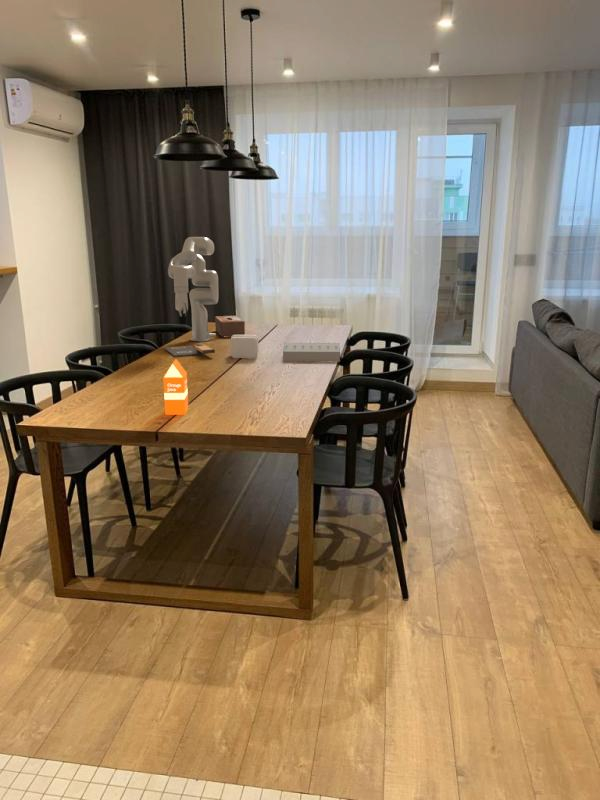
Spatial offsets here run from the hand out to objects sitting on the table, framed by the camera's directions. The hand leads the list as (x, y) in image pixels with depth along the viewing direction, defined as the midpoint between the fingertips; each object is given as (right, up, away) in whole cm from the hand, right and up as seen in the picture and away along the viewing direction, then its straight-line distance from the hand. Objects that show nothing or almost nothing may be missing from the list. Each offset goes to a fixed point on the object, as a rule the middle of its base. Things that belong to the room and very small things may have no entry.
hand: (182, 323), depth 341 cm
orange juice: (+16, -46, -99) cm, 111 cm away
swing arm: (+11, -15, +1) cm, 18 cm away
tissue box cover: (+18, +1, +69) cm, 71 cm away
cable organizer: (+34, -19, -1) cm, 39 cm away
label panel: (-2, -15, +10) cm, 18 cm away
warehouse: (+70, -20, -5) cm, 73 cm away
